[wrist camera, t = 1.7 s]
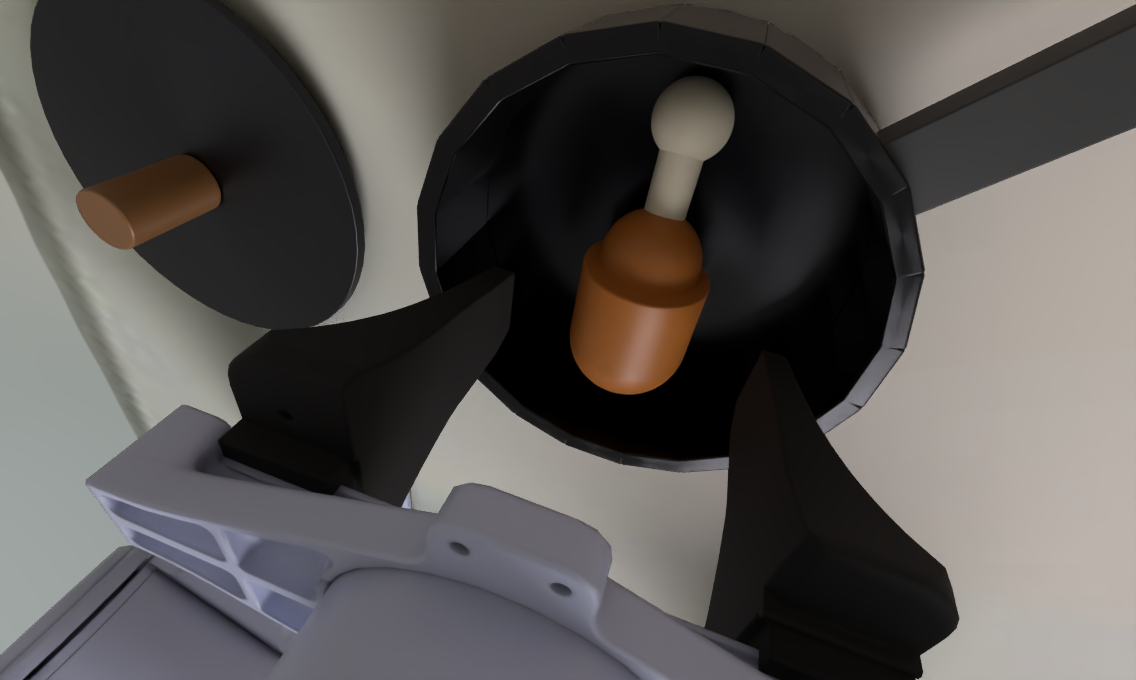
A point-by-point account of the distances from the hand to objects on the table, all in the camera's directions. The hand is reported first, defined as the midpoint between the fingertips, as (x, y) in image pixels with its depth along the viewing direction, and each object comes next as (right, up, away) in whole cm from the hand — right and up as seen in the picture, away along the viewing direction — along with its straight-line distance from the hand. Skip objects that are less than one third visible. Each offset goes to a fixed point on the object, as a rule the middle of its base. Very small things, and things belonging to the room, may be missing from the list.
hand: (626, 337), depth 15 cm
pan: (+1, +3, +2) cm, 4 cm away
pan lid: (-16, +6, +6) cm, 18 cm away
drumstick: (+1, +3, +2) cm, 4 cm away
